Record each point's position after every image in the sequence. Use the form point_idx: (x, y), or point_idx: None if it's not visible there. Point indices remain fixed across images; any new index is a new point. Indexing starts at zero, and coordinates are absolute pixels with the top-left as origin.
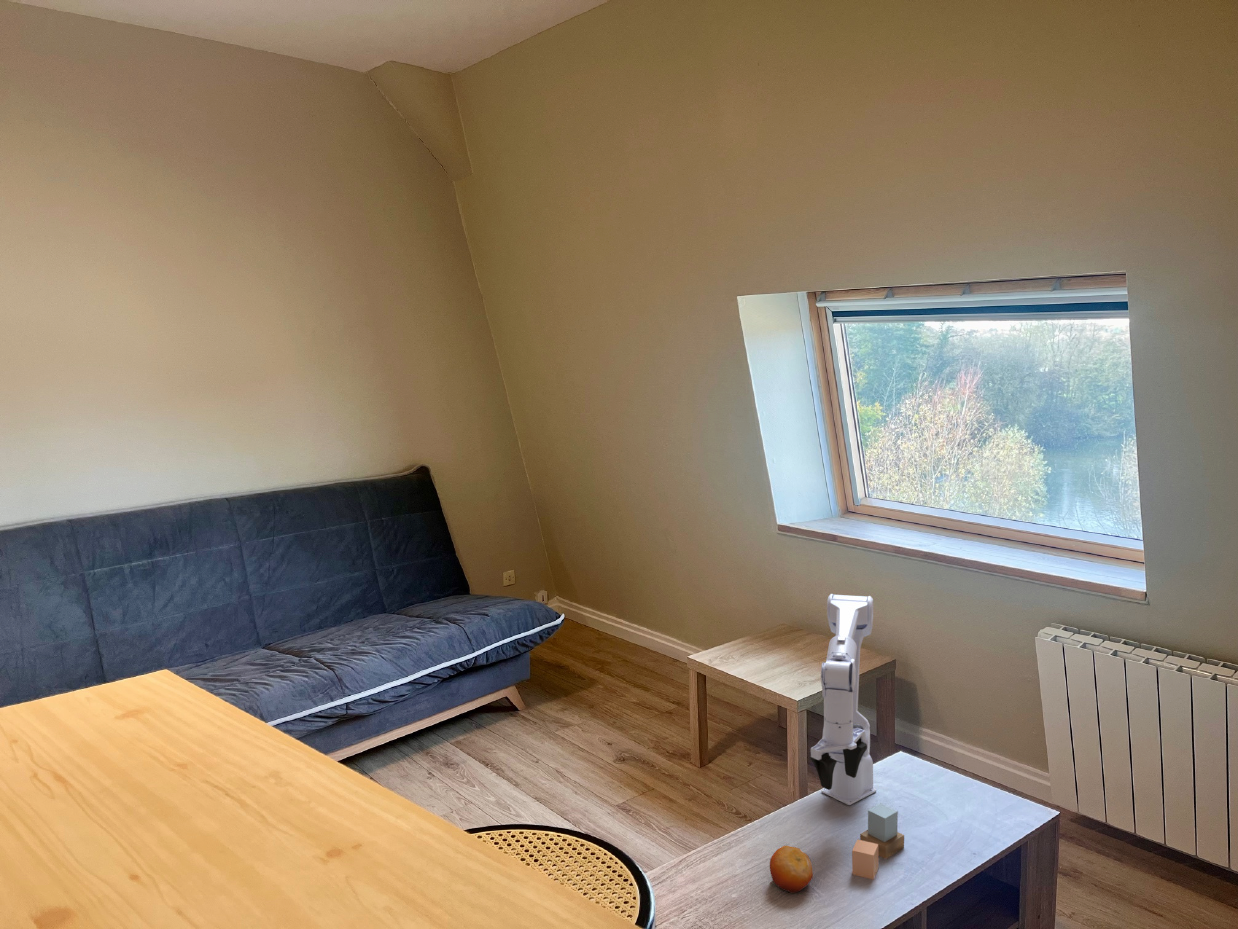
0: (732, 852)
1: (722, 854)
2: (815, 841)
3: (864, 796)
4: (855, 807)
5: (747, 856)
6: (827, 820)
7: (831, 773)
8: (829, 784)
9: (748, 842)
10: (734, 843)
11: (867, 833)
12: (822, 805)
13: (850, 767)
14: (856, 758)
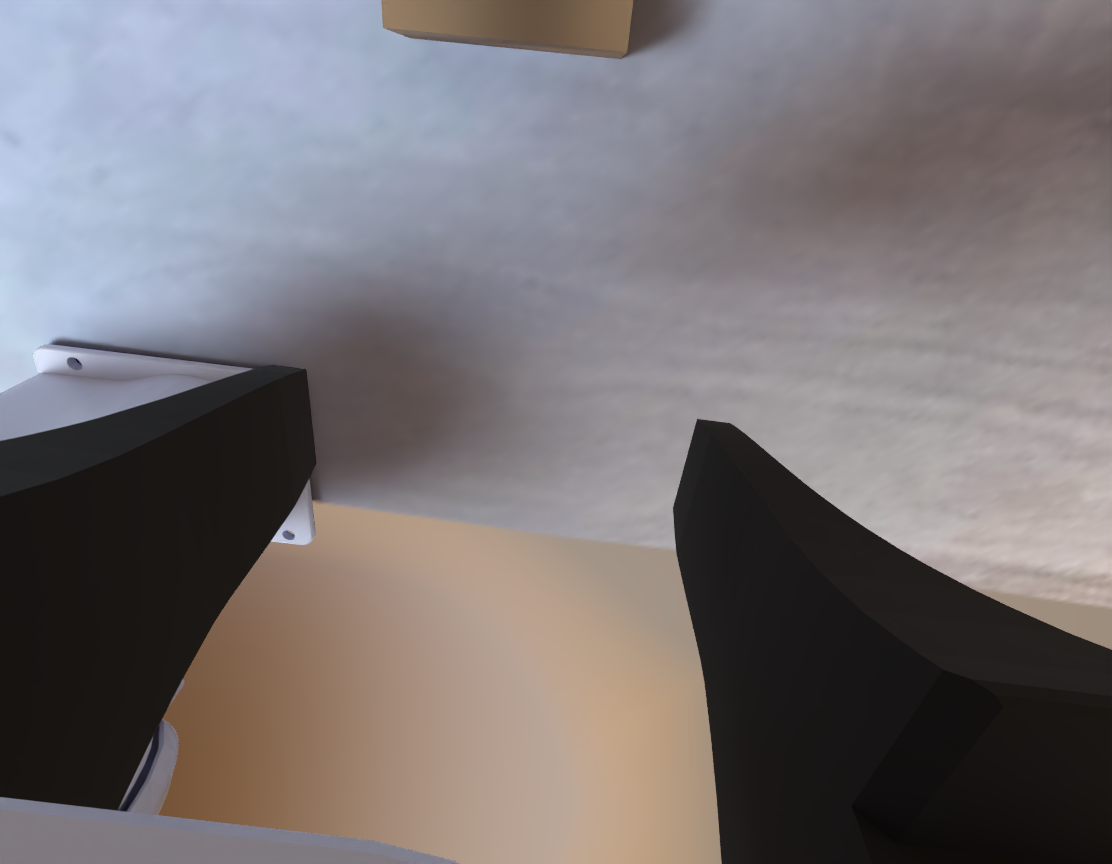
0: (1044, 545)
1: (1079, 564)
2: (737, 315)
3: (153, 359)
4: (275, 342)
5: (1051, 484)
6: (505, 382)
7: (822, 530)
8: (761, 452)
9: (926, 540)
10: (964, 574)
11: (580, 6)
12: (404, 474)
13: (254, 472)
14: (110, 488)
